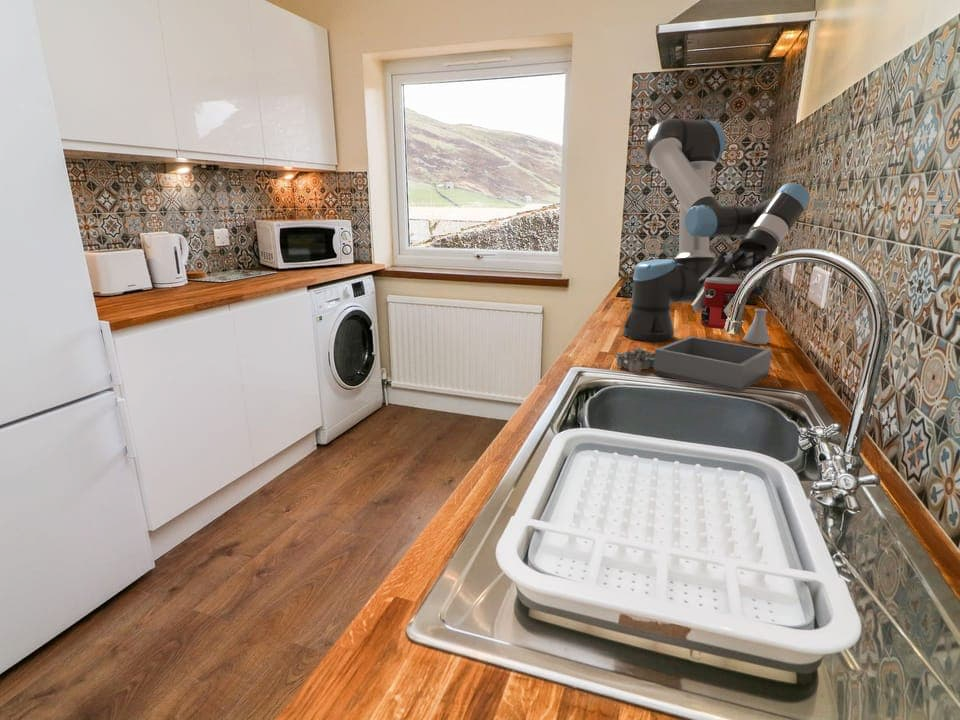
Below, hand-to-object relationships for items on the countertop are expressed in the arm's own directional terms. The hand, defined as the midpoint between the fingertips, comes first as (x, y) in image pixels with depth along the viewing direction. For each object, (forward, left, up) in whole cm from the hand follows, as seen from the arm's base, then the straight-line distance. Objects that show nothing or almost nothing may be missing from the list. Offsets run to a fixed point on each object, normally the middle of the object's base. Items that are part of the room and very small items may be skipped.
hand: (710, 311), depth 125 cm
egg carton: (+3, -15, -16) cm, 22 cm away
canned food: (-3, +1, -4) cm, 5 cm away
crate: (-3, +1, -16) cm, 16 cm away
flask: (-46, -2, -16) cm, 49 cm away
